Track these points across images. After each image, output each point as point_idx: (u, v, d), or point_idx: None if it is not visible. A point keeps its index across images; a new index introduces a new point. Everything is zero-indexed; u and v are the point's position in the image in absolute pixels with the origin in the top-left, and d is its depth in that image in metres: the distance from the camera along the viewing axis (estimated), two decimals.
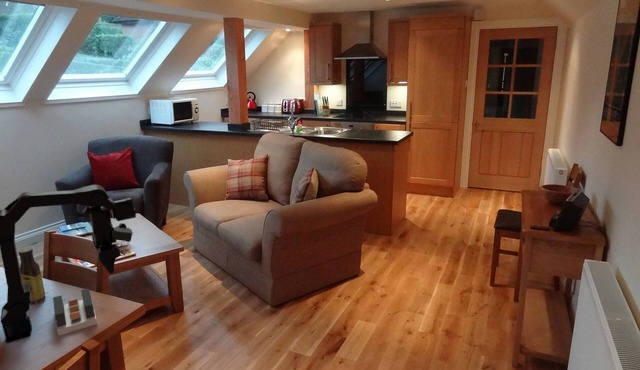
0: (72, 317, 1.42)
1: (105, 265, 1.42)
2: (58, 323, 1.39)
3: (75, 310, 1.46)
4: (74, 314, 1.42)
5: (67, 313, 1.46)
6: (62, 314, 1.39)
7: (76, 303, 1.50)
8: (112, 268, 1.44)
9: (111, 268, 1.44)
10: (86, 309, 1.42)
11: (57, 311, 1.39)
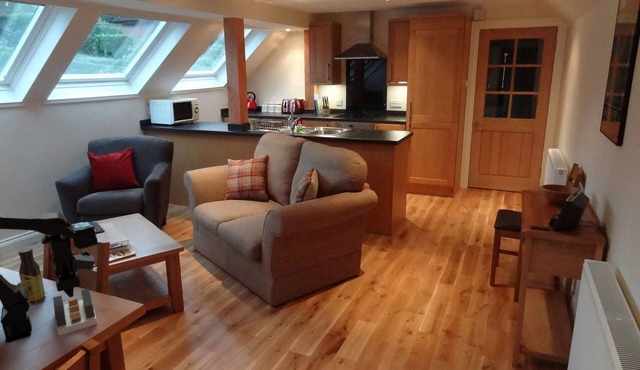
0: (72, 317, 1.42)
1: (64, 289, 1.42)
2: (58, 323, 1.39)
3: (75, 310, 1.46)
4: (74, 314, 1.42)
5: (67, 313, 1.46)
6: (62, 314, 1.39)
7: (76, 303, 1.50)
8: (71, 292, 1.43)
9: (70, 292, 1.43)
10: (86, 309, 1.42)
11: (57, 311, 1.39)
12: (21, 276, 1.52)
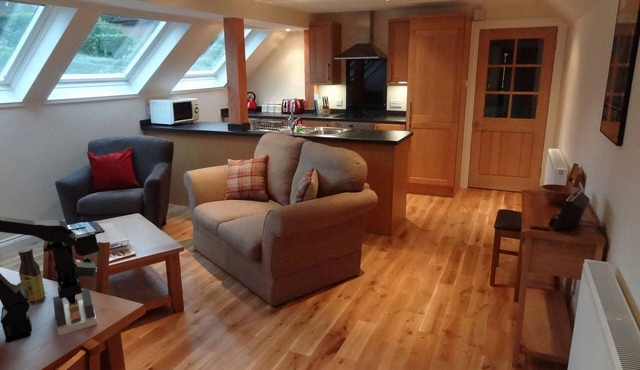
0: (72, 317, 1.42)
1: None
2: (58, 323, 1.39)
3: (75, 310, 1.46)
4: (74, 314, 1.42)
5: (67, 313, 1.46)
6: (62, 314, 1.39)
7: (76, 303, 1.50)
8: (73, 298, 1.44)
9: (72, 299, 1.44)
10: (86, 309, 1.42)
11: (57, 311, 1.39)
12: (21, 276, 1.52)
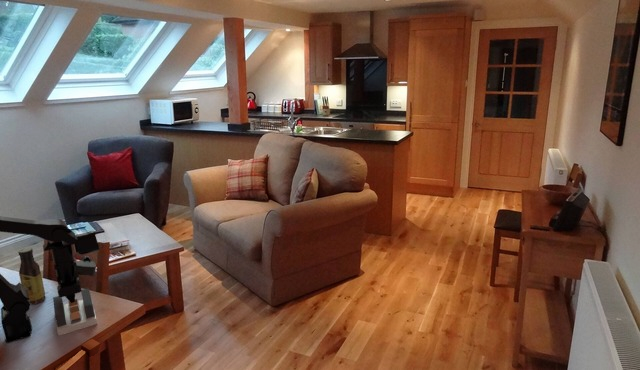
0: (72, 317, 1.42)
1: None
2: (58, 323, 1.39)
3: (75, 310, 1.46)
4: (74, 314, 1.42)
5: (67, 313, 1.46)
6: (62, 314, 1.39)
7: (76, 303, 1.50)
8: (73, 297, 1.45)
9: (72, 297, 1.45)
10: (86, 309, 1.42)
11: (57, 311, 1.39)
12: (21, 276, 1.52)
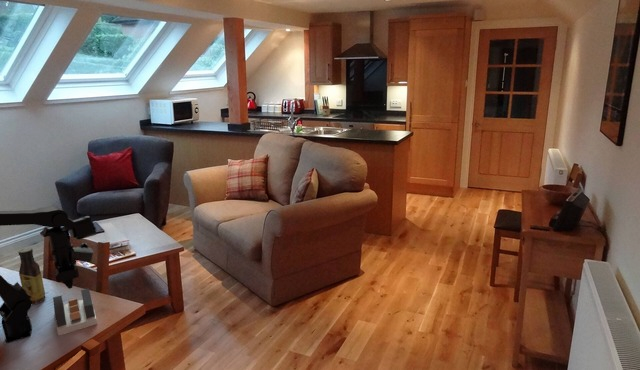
0: (72, 317, 1.42)
1: (63, 280, 1.45)
2: (58, 323, 1.39)
3: (75, 310, 1.46)
4: (74, 314, 1.42)
5: (67, 313, 1.46)
6: (62, 314, 1.39)
7: (76, 303, 1.50)
8: (71, 283, 1.47)
9: (69, 283, 1.47)
10: (86, 309, 1.42)
11: (57, 311, 1.39)
12: (21, 276, 1.52)
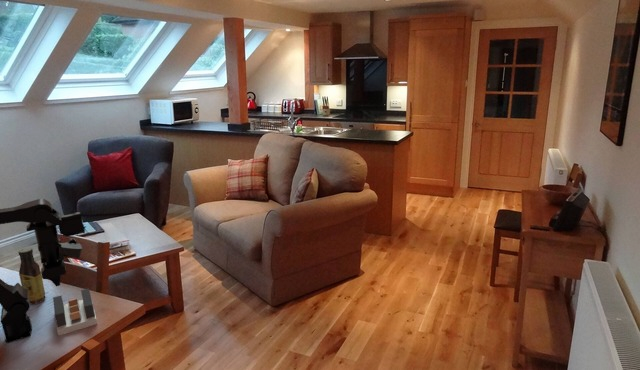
0: (72, 317, 1.42)
1: (50, 277, 1.39)
2: (58, 323, 1.39)
3: (75, 310, 1.46)
4: (74, 314, 1.42)
5: (67, 313, 1.46)
6: (62, 314, 1.39)
7: (76, 303, 1.50)
8: (58, 280, 1.41)
9: (57, 280, 1.40)
10: (86, 309, 1.42)
11: (57, 311, 1.39)
12: (21, 276, 1.52)
